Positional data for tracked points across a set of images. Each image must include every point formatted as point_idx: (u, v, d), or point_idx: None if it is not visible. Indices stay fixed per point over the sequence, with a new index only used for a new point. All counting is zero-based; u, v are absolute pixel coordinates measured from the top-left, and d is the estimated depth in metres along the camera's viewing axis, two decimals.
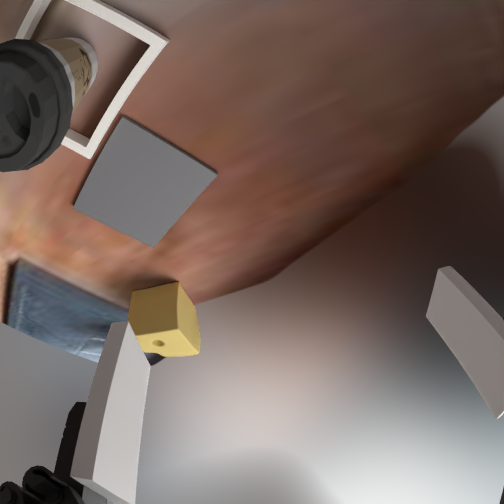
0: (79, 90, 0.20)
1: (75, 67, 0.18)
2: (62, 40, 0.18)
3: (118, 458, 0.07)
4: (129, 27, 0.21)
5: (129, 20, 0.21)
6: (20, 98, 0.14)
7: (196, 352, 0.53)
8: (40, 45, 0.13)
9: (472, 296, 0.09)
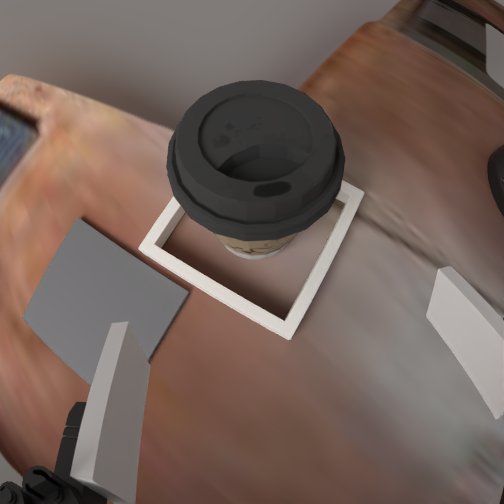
0: (250, 245, 0.21)
1: (282, 239, 0.21)
2: None
3: (118, 458, 0.07)
4: (306, 293, 0.27)
5: (315, 292, 0.27)
6: (274, 168, 0.17)
7: None
8: (334, 198, 0.18)
9: (472, 296, 0.09)
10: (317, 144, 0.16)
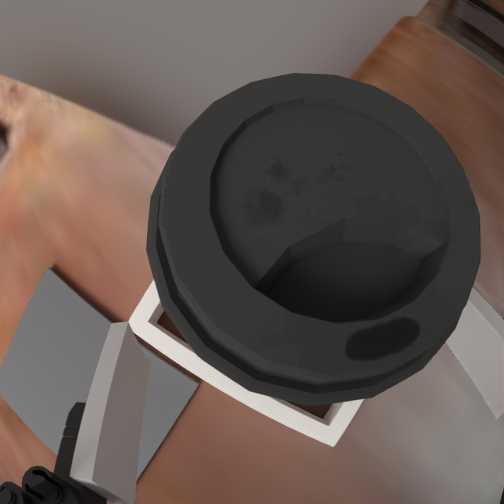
0: None
1: None
2: None
3: (118, 458, 0.07)
4: None
5: None
6: (371, 267, 0.08)
7: None
8: None
9: (472, 296, 0.09)
10: (455, 221, 0.07)
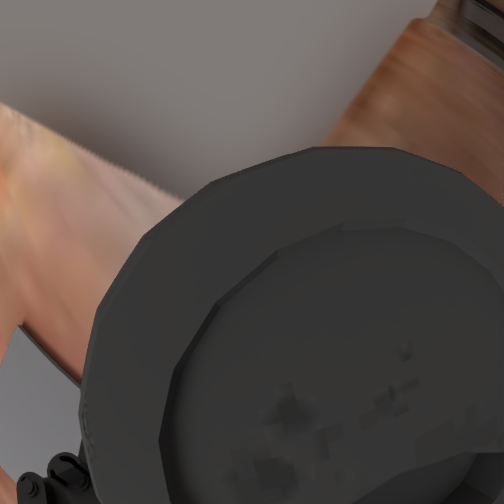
0: None
1: None
2: None
3: None
4: None
5: None
6: (413, 486, 0.04)
7: None
8: None
9: None
10: None
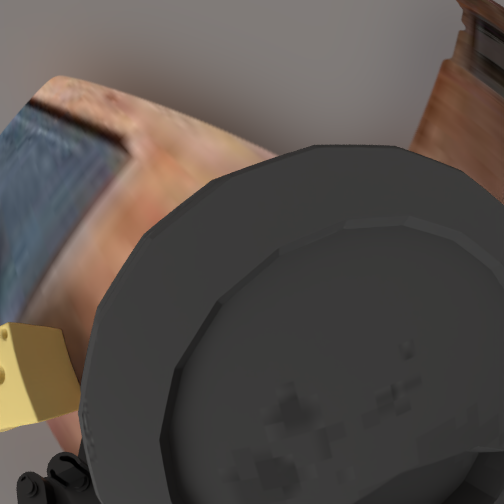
0: None
1: None
2: None
3: None
4: None
5: None
6: (415, 486, 0.04)
7: None
8: None
9: None
10: None
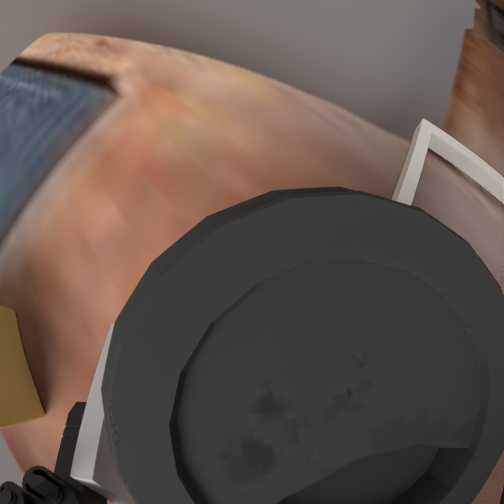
0: None
1: None
2: None
3: None
4: None
5: None
6: (379, 473, 0.05)
7: None
8: None
9: None
10: (490, 423, 0.04)
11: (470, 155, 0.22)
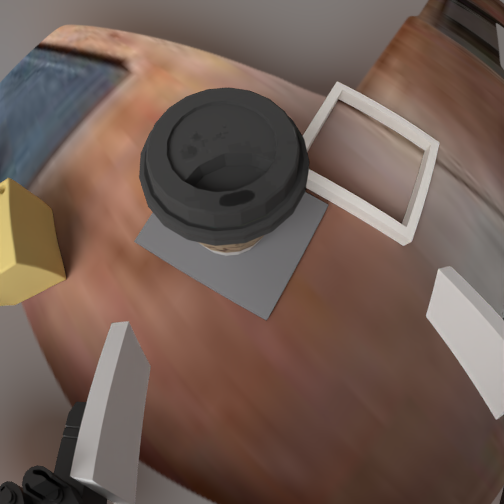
0: (222, 245, 0.22)
1: None
2: None
3: (118, 458, 0.07)
4: (416, 208, 0.31)
5: (422, 207, 0.32)
6: (240, 175, 0.18)
7: None
8: (299, 200, 0.19)
9: (472, 296, 0.09)
10: (280, 151, 0.17)
11: (373, 104, 0.35)
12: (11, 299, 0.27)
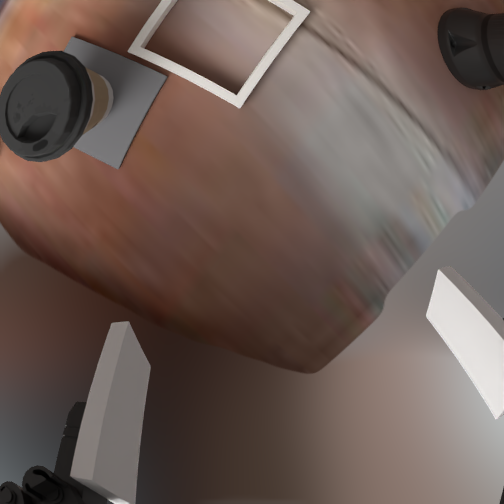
0: None
1: None
2: (103, 108, 0.28)
3: (118, 458, 0.07)
4: (253, 77, 0.33)
5: (260, 77, 0.33)
6: (46, 122, 0.21)
7: None
8: (85, 125, 0.23)
9: (472, 296, 0.09)
10: (59, 108, 0.20)
11: None
12: None
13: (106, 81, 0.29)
